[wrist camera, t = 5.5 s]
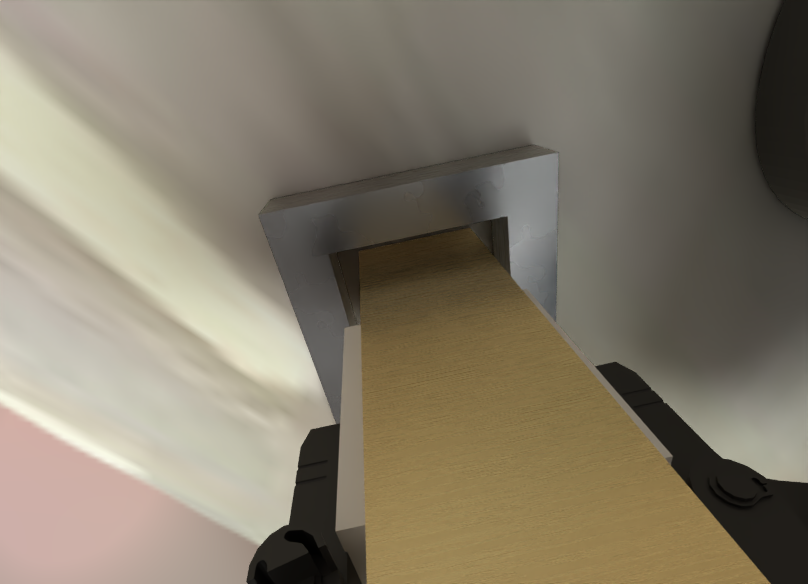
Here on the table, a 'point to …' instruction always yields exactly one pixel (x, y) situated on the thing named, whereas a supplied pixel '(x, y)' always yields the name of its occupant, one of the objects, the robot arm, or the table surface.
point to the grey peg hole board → (409, 216)
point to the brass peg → (507, 442)
